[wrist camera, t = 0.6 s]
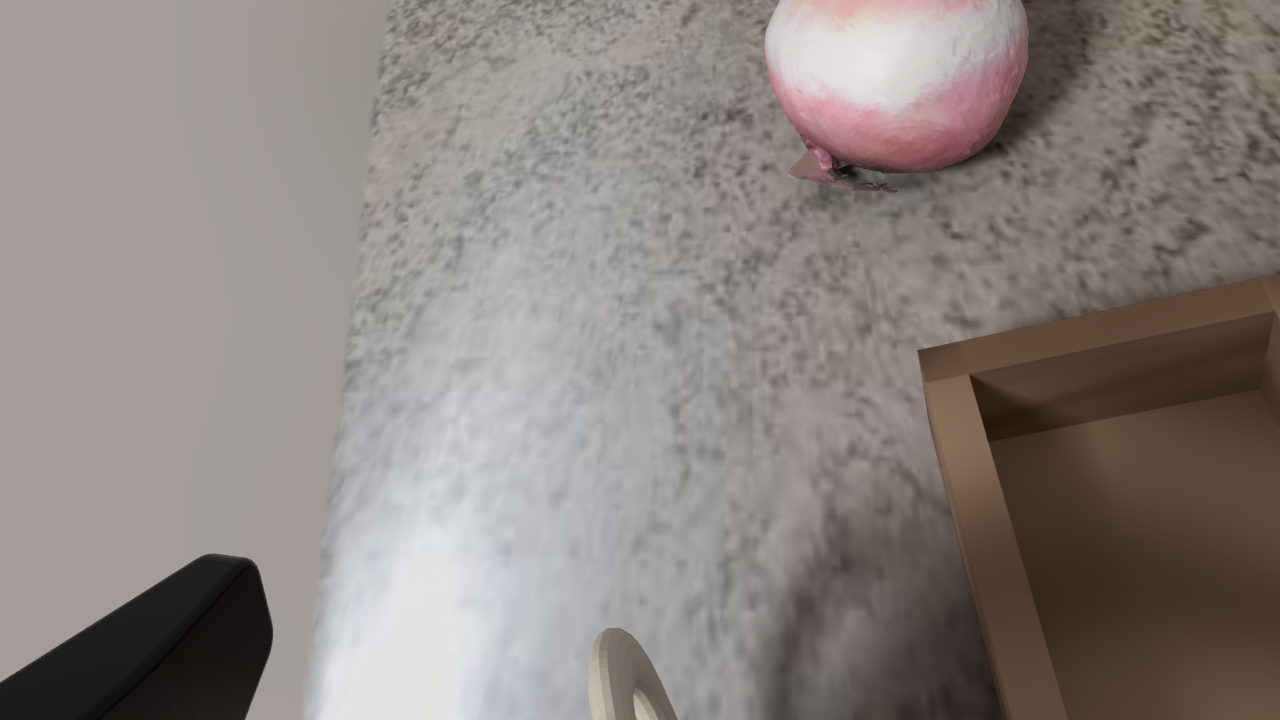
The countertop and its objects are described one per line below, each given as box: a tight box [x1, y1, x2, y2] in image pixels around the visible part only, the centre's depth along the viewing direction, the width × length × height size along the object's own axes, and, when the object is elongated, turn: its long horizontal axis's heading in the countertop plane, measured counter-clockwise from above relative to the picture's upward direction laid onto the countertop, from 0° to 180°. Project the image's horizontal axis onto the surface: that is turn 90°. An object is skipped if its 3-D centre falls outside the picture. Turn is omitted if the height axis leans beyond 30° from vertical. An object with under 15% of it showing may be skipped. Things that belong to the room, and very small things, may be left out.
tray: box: [917, 274, 1280, 720], centre depth 26 cm, size 13×9×3 cm
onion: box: [765, 0, 1029, 194], centre depth 36 cm, size 8×8×7 cm
